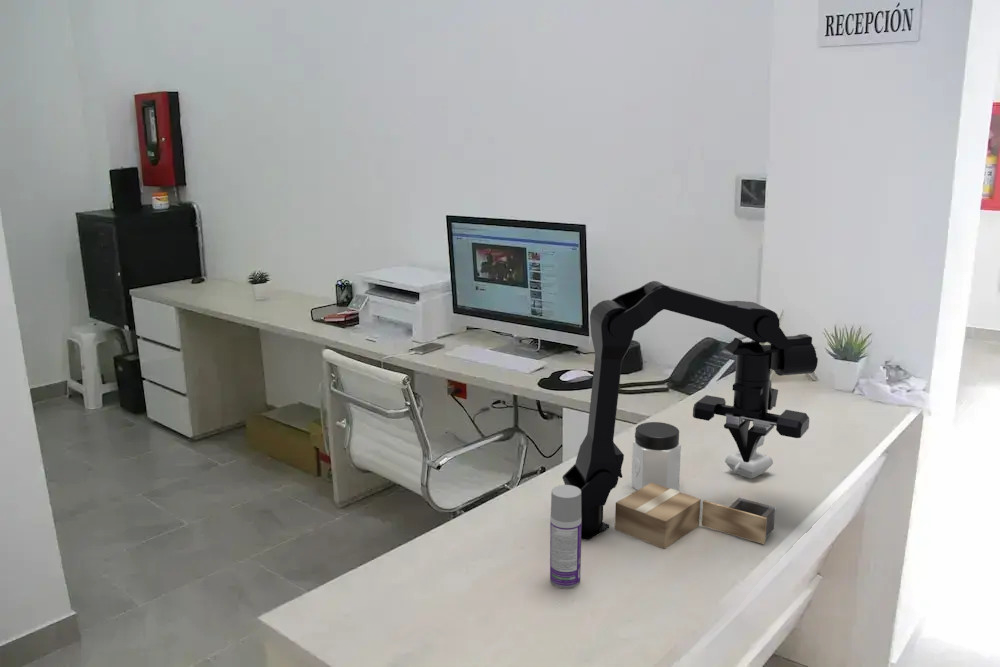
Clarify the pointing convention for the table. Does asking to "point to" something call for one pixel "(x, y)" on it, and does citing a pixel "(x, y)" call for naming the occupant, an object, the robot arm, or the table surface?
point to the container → (565, 536)
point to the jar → (656, 455)
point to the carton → (657, 514)
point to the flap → (740, 519)
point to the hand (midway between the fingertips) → (746, 461)
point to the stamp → (749, 463)
